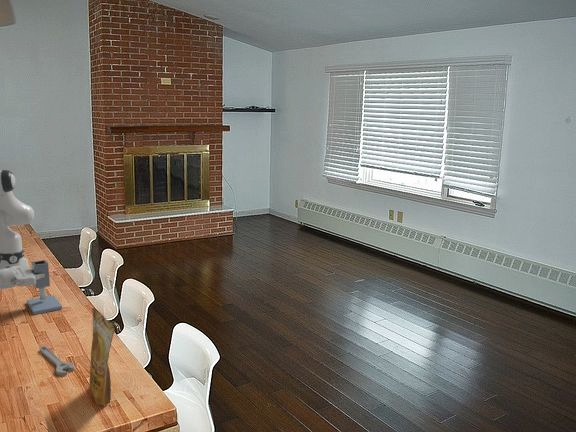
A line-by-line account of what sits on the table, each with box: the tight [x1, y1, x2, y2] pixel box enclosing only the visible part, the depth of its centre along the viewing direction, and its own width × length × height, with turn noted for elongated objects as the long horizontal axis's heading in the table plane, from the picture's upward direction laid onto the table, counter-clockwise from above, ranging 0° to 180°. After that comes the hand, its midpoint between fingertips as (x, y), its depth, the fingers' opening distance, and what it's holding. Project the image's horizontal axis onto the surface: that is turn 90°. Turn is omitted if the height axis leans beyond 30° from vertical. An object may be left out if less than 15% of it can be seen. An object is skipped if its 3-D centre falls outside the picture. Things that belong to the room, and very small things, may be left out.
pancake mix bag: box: [88, 307, 115, 408], centre depth 178 cm, size 7×19×28 cm, turn 30°
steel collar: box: [30, 259, 51, 289], centre depth 250 cm, size 6×6×11 cm
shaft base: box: [26, 287, 63, 316], centre depth 250 cm, size 16×12×12 cm
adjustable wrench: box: [39, 346, 75, 377], centre depth 202 cm, size 25×6×2 cm, turn 40°
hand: (42, 272), depth 250 cm, fingers closed on steel collar, 6 cm apart
